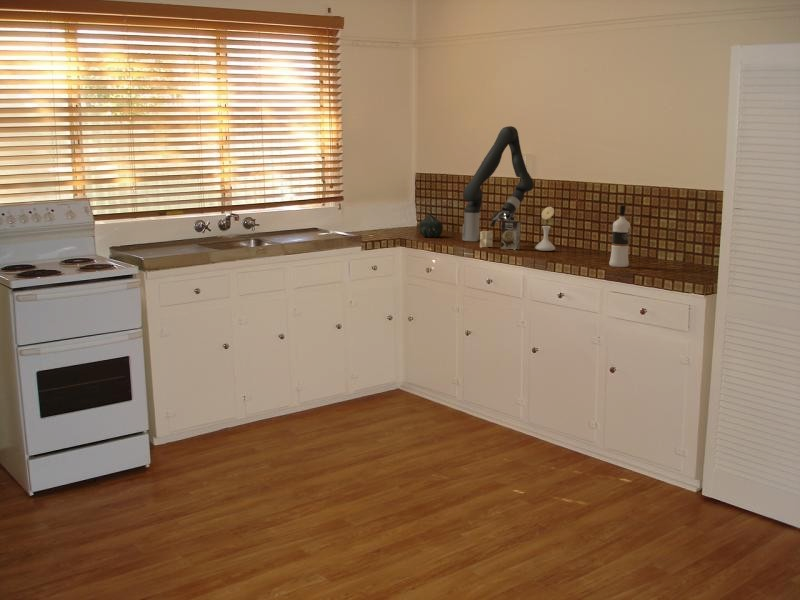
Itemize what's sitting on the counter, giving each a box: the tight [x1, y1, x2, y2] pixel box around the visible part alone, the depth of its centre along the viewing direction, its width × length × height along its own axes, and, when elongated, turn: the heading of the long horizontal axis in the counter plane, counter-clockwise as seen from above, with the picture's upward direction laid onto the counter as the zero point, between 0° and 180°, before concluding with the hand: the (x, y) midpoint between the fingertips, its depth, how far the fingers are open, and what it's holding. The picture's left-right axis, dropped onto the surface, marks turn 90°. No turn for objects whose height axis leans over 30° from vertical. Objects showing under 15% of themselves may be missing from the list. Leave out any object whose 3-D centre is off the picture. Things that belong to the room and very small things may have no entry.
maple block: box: [479, 230, 494, 248], centre depth 505 cm, size 5×5×9 cm
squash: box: [418, 214, 443, 238], centre depth 555 cm, size 14×15×15 cm
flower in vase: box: [534, 206, 556, 252], centre depth 493 cm, size 13×11×25 cm
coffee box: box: [500, 219, 522, 251], centre depth 498 cm, size 9×6×16 cm
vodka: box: [608, 204, 631, 268], centre depth 433 cm, size 9×9×30 cm
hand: (496, 226), depth 508 cm, fingers open, 8 cm apart
